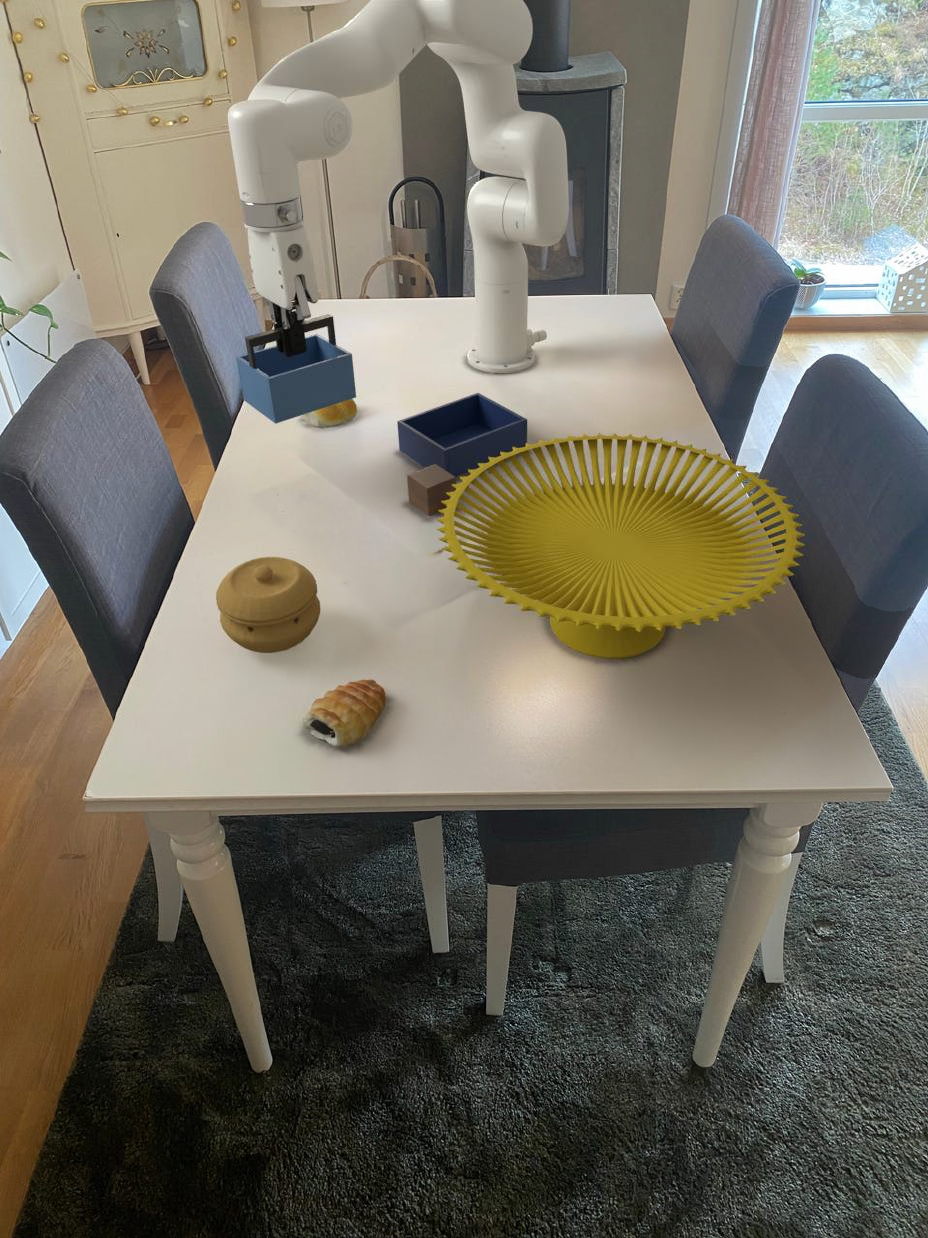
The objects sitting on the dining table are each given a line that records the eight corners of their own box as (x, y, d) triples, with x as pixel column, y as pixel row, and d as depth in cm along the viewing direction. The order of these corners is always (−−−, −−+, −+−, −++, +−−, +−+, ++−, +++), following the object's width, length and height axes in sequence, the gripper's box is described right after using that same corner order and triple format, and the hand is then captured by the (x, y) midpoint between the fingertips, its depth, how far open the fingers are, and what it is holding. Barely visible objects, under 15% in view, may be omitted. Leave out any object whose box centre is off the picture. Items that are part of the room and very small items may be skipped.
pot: (221, 615, 117) (206, 549, 111) (315, 598, 119) (305, 532, 113) (230, 676, 108) (213, 607, 102) (331, 656, 110) (321, 587, 104)
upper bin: (322, 375, 141) (313, 305, 134) (356, 397, 135) (349, 324, 128) (243, 400, 135) (230, 327, 128) (275, 423, 129) (263, 349, 122)
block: (436, 493, 139) (435, 463, 136) (457, 507, 136) (456, 477, 133) (408, 504, 137) (406, 474, 133) (428, 519, 133) (427, 488, 130)
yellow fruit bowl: (806, 569, 122) (831, 466, 112) (739, 788, 93) (765, 674, 84) (516, 506, 135) (517, 410, 126) (381, 679, 107) (369, 572, 98)
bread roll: (366, 415, 160) (364, 393, 157) (325, 433, 155) (323, 411, 152) (334, 401, 164) (332, 379, 162) (294, 418, 159) (291, 396, 157)
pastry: (356, 682, 107) (352, 657, 104) (403, 705, 104) (401, 680, 101) (299, 732, 101) (294, 706, 98) (347, 758, 98) (344, 732, 95)
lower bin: (478, 423, 156) (478, 392, 153) (527, 451, 148) (527, 419, 145) (399, 453, 149) (397, 421, 145) (445, 484, 141) (444, 450, 137)
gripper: (329, 219, 116) (344, 362, 127) (270, 194, 126) (289, 329, 137) (275, 231, 112) (295, 377, 124) (218, 204, 122) (242, 342, 134)
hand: (292, 351), depth 130 cm, fingers closed on upper bin, 1 cm apart
